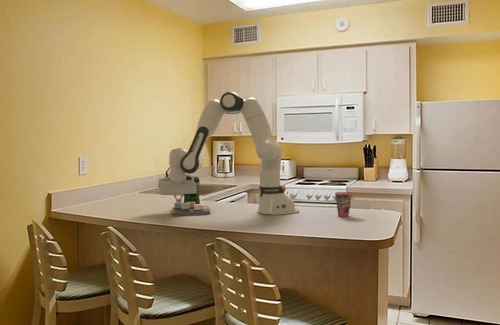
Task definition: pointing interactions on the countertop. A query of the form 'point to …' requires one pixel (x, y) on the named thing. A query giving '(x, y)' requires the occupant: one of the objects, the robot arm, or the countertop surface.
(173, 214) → the keypad board
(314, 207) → the countertop surface
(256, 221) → the countertop surface
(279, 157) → the robot arm
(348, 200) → the cup
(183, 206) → the key
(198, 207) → the key
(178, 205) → the key
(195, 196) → the coffee jar
